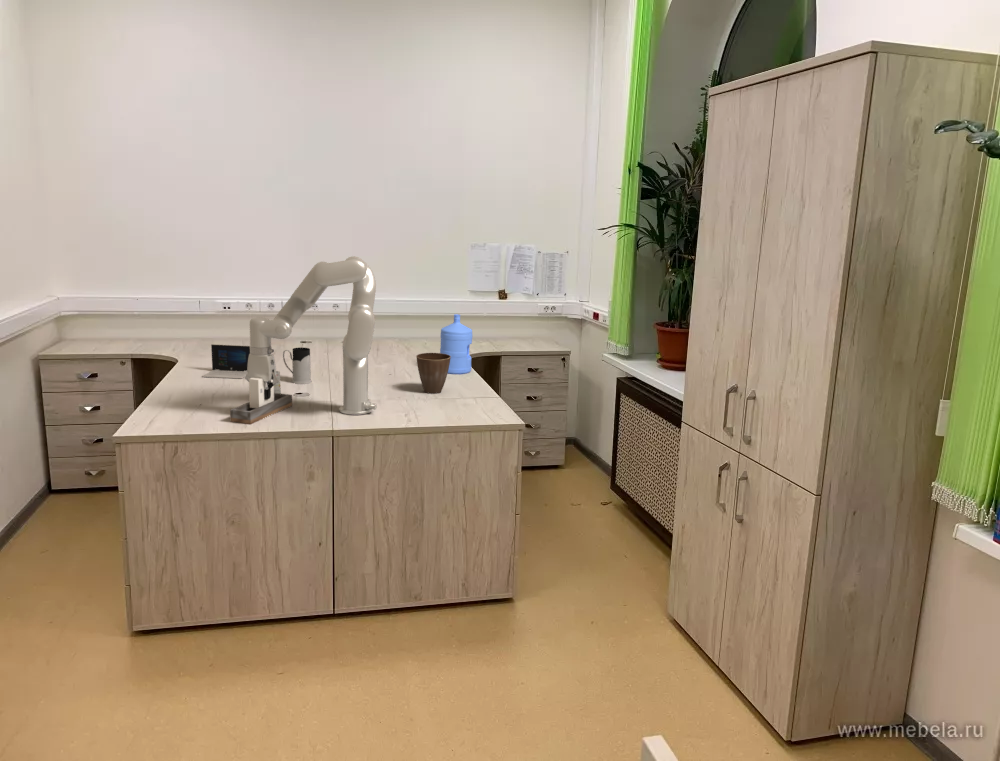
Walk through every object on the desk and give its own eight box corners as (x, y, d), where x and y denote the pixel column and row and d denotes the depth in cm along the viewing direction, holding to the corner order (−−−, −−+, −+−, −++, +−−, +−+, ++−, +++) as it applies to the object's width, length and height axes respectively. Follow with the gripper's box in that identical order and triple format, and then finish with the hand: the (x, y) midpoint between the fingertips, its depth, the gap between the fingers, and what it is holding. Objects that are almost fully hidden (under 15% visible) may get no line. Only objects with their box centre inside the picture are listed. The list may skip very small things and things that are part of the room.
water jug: (448, 375, 367) (449, 317, 361) (434, 368, 380) (435, 313, 374) (476, 373, 375) (478, 316, 368) (462, 366, 388) (463, 311, 381)
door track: (292, 405, 303) (291, 394, 302) (250, 424, 277) (250, 412, 276) (273, 403, 305) (273, 392, 304) (230, 421, 279) (230, 409, 278)
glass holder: (304, 385, 337) (303, 351, 333) (277, 381, 342) (276, 348, 338) (315, 381, 344) (315, 348, 341) (289, 377, 350) (289, 345, 346)
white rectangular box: (274, 402, 294) (273, 374, 292) (259, 408, 285) (258, 380, 282) (264, 401, 295) (264, 373, 293) (249, 407, 286) (248, 378, 284)
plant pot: (444, 397, 326) (445, 360, 323) (411, 394, 329) (411, 357, 326) (453, 389, 341) (454, 354, 337) (421, 386, 343) (422, 351, 340)
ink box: (263, 402, 305) (262, 374, 303) (255, 400, 309) (255, 372, 306) (281, 399, 312) (280, 371, 309) (274, 396, 315) (273, 369, 312)
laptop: (202, 377, 342) (200, 349, 339) (212, 371, 354) (211, 344, 352) (242, 379, 342) (241, 351, 339) (251, 373, 355) (250, 345, 352)
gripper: (286, 351, 287) (286, 398, 291) (247, 347, 291) (248, 393, 295) (274, 354, 280) (275, 403, 284) (235, 350, 284) (236, 397, 288)
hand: (262, 397), depth 290 cm, fingers closed on white rectangular box, 4 cm apart
